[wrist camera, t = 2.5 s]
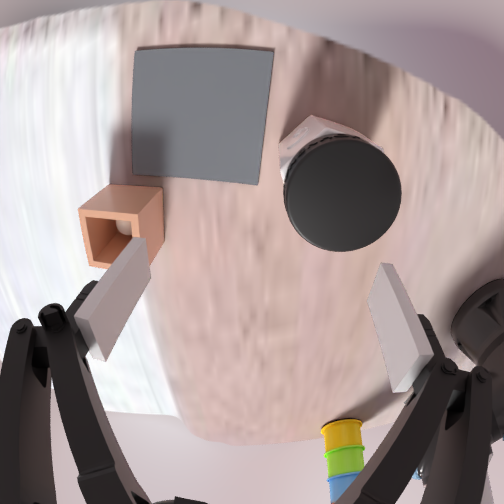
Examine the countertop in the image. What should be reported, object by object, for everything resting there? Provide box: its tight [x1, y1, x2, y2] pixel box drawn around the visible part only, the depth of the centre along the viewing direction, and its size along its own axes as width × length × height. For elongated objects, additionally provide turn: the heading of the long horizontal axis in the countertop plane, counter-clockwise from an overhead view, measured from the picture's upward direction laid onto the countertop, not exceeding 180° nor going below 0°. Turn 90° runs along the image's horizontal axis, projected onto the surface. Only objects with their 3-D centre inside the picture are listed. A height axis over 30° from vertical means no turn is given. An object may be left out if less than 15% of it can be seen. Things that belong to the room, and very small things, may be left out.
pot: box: [78, 184, 165, 269], centre depth 30 cm, size 7×7×7 cm
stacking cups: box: [321, 419, 365, 504], centre depth 46 cm, size 10×10×35 cm
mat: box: [132, 48, 274, 185], centre depth 27 cm, size 14×14×1 cm
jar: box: [278, 115, 402, 252], centre depth 23 cm, size 9×8×12 cm
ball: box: [116, 220, 132, 235], centre depth 32 cm, size 3×3×3 cm
